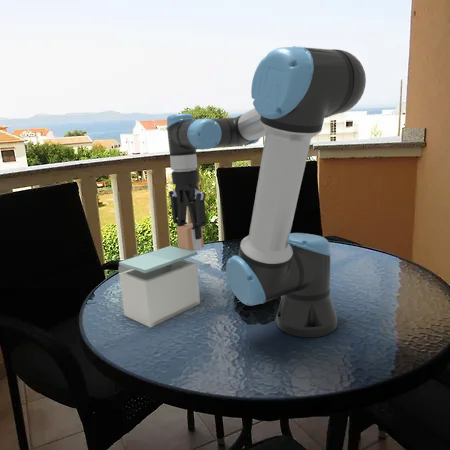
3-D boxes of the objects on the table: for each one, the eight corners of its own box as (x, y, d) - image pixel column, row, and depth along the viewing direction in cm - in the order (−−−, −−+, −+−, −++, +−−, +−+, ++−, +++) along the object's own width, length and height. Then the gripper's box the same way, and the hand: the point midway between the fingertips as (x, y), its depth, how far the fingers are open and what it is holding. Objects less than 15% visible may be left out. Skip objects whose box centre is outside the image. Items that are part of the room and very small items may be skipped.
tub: (200, 303, 120) (196, 263, 117) (150, 327, 108) (145, 282, 105) (173, 294, 128) (170, 256, 125) (124, 315, 116) (119, 273, 113)
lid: (212, 249, 121) (211, 226, 119) (145, 273, 104) (142, 246, 102) (185, 243, 129) (183, 221, 127) (119, 264, 112) (115, 240, 110)
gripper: (215, 168, 114) (221, 249, 119) (174, 168, 126) (181, 241, 131) (195, 172, 109) (202, 256, 114) (155, 170, 121) (163, 247, 126)
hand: (191, 248), depth 123 cm, fingers closed on lid, 4 cm apart
